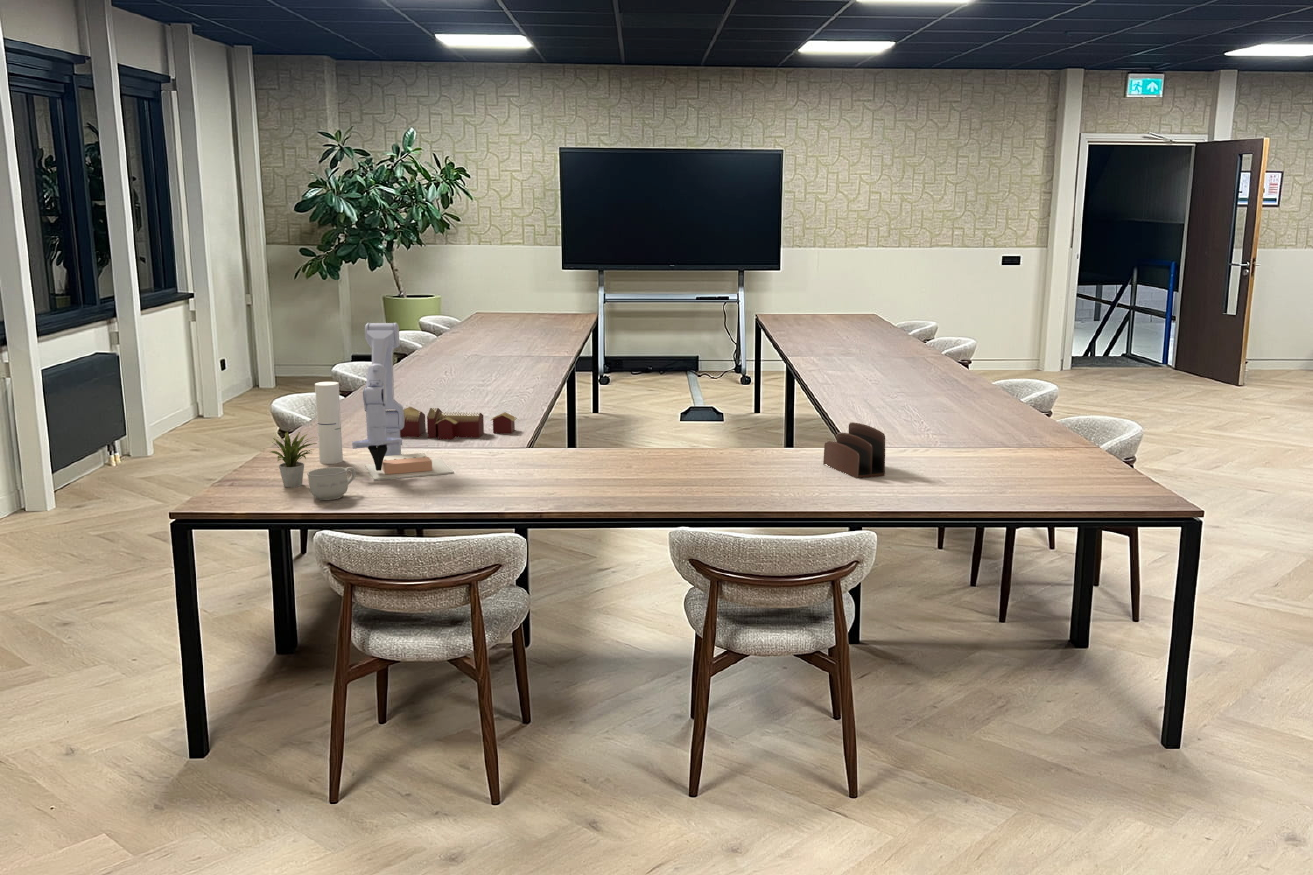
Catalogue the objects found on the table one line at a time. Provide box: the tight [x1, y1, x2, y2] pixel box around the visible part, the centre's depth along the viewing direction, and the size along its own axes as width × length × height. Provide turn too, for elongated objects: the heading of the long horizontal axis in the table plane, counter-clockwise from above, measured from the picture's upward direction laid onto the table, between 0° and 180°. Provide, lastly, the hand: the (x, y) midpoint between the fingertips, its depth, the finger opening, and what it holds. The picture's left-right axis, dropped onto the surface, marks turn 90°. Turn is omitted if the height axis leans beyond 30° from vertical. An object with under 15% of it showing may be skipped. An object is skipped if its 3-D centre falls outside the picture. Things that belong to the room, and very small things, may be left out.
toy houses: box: [400, 406, 518, 441], centre depth 400 cm, size 45×20×10 cm, turn 86°
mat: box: [364, 457, 455, 481], centre depth 349 cm, size 19×24×1 cm
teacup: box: [307, 466, 357, 501], centre depth 317 cm, size 14×11×8 cm
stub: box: [382, 456, 432, 474], centre depth 345 cm, size 6×14×3 cm, turn 112°
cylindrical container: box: [314, 381, 344, 465], centre depth 357 cm, size 7×7×25 cm
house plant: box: [269, 430, 318, 489], centre depth 327 cm, size 14×14×16 cm
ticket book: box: [381, 452, 429, 470], centre depth 351 cm, size 6×14×3 cm, turn 112°
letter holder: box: [822, 422, 886, 479], centre depth 350 cm, size 10×20×14 cm, turn 23°
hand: (378, 469), depth 342 cm, fingers closed
